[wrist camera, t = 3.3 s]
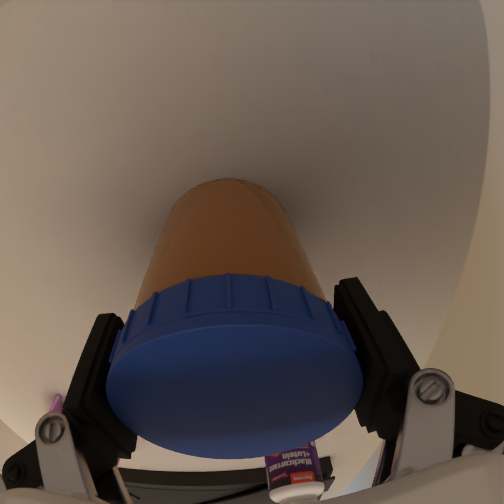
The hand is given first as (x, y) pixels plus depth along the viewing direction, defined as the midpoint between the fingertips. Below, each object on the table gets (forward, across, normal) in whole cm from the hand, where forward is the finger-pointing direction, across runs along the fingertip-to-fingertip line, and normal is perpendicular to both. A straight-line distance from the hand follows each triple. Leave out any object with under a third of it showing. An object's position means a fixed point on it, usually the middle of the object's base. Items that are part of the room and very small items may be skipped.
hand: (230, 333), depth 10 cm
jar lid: (-3, 0, 0) cm, 3 cm away
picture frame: (+7, +12, +49) cm, 51 cm away
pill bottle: (+7, -2, +24) cm, 25 cm away
